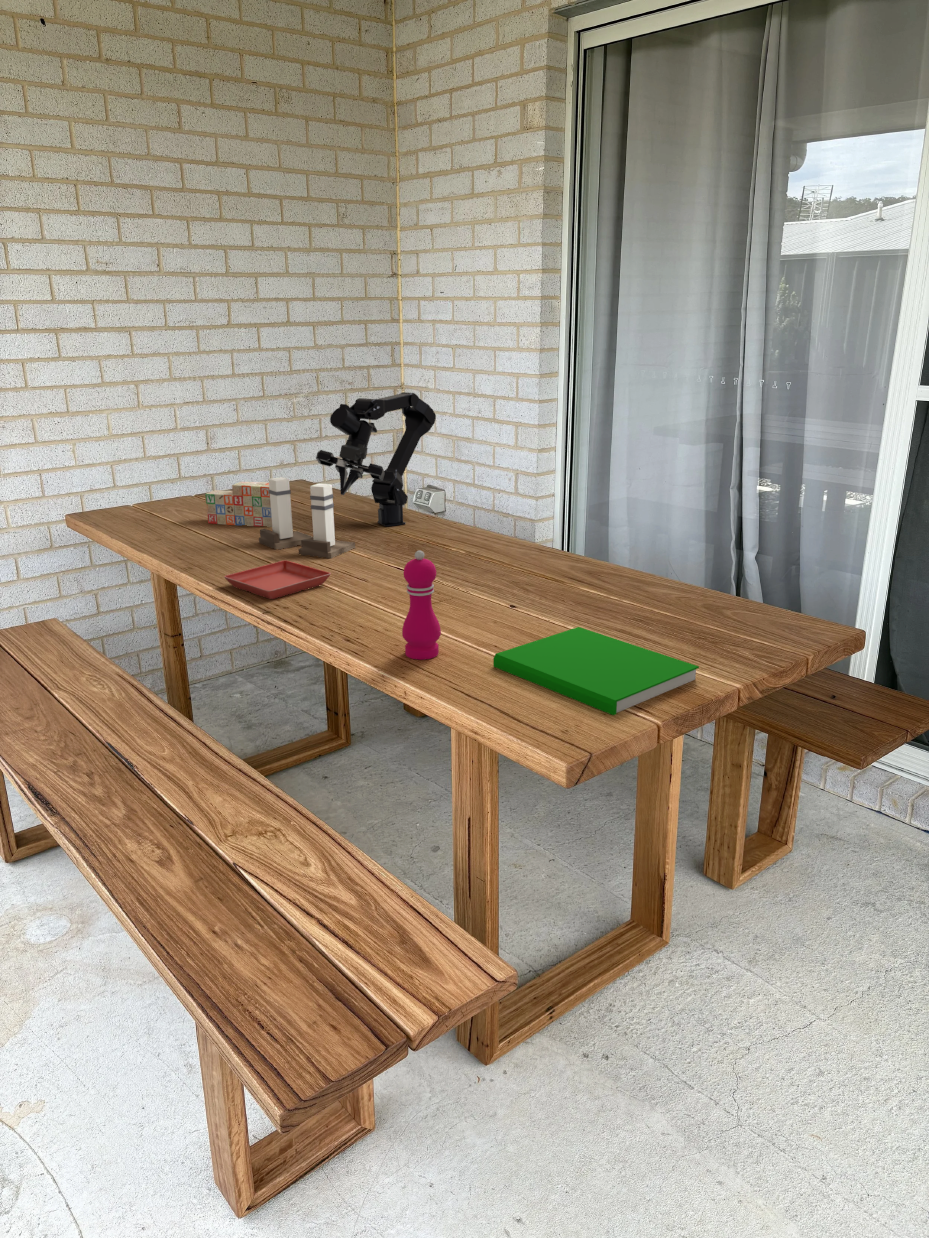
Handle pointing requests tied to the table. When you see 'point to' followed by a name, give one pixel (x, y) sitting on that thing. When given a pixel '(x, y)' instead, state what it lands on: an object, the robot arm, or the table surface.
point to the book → (595, 669)
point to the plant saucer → (278, 579)
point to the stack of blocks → (240, 505)
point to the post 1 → (281, 507)
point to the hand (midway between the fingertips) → (342, 494)
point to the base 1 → (274, 542)
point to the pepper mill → (420, 610)
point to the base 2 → (324, 548)
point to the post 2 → (322, 512)
